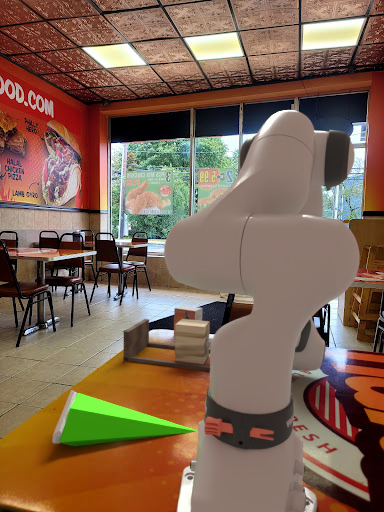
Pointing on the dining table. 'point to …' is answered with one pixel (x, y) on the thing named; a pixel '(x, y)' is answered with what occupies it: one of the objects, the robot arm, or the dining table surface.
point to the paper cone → (107, 423)
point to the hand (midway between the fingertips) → (206, 342)
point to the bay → (139, 339)
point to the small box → (187, 314)
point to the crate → (191, 341)
